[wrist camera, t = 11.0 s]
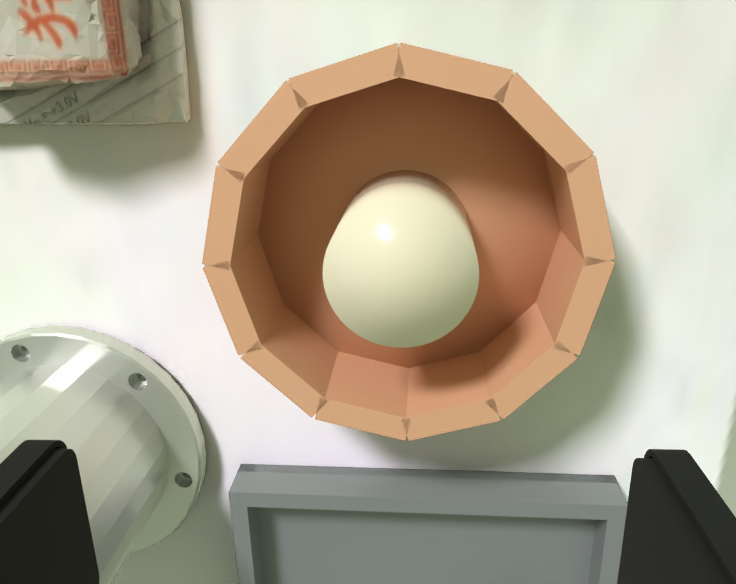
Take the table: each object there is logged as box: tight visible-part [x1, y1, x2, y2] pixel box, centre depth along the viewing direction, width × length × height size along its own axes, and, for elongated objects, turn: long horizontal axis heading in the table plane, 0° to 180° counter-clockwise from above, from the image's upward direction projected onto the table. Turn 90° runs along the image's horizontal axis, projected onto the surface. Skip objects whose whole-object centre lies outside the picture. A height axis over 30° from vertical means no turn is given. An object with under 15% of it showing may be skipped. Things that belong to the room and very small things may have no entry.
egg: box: [323, 170, 479, 348], centre depth 24 cm, size 5×5×6 cm
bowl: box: [202, 43, 616, 441], centre depth 25 cm, size 14×14×5 cm
